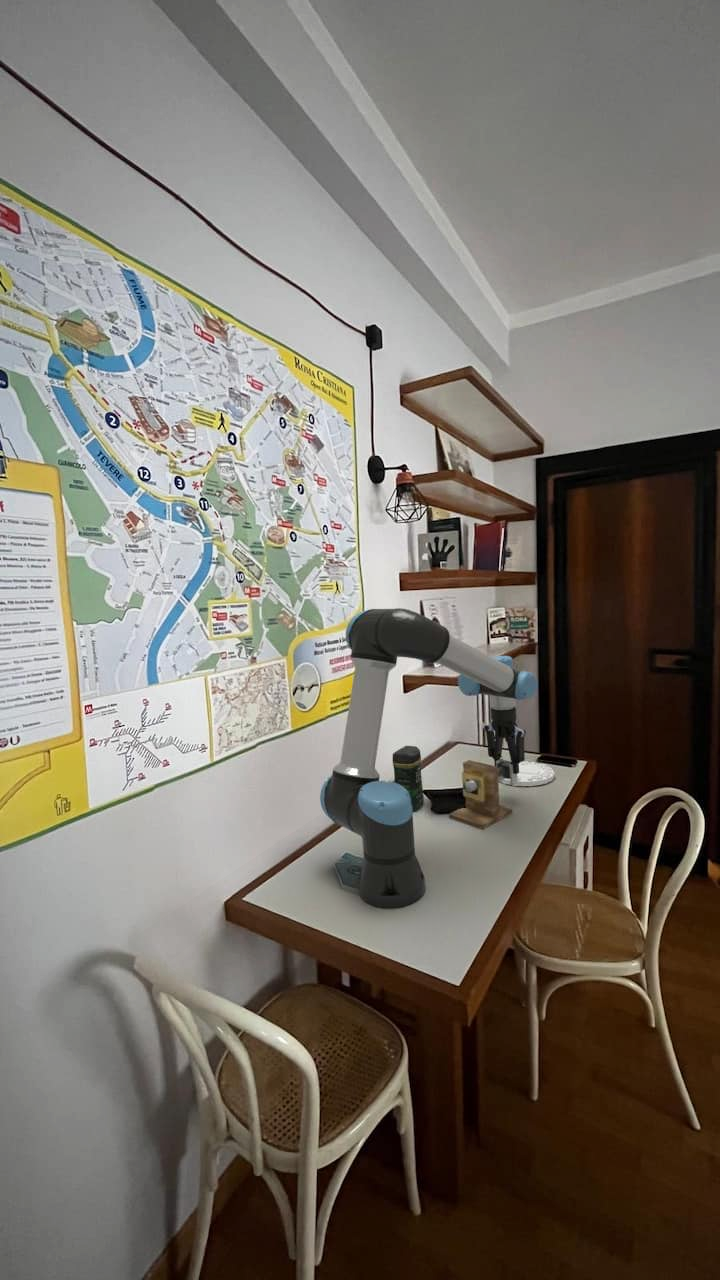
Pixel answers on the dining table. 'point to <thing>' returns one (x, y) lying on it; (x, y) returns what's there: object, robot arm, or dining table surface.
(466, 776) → the spacer
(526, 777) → the giant coin
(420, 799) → the coffee jar
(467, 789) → the shaft
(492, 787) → the bracket
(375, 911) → the dining table surface
